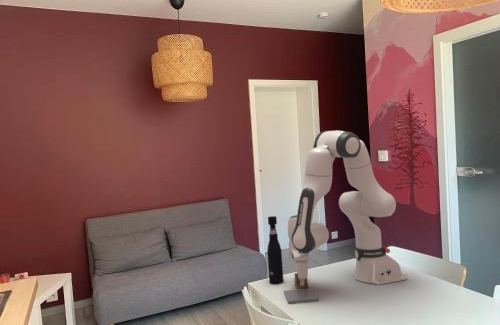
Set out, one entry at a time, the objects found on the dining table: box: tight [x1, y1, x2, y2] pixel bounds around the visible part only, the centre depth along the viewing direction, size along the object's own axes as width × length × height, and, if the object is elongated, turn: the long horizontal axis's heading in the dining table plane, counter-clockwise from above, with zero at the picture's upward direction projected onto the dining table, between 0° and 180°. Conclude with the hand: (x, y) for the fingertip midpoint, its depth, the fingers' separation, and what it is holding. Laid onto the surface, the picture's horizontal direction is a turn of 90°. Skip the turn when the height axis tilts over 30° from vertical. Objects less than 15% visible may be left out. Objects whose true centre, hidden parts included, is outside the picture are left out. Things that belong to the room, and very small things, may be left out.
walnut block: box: [293, 272, 309, 290], centre depth 166 cm, size 5×5×5 cm
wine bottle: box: [267, 215, 284, 285], centre depth 173 cm, size 6×6×30 cm
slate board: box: [283, 287, 320, 305], centre depth 154 cm, size 12×11×1 cm
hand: (301, 282), depth 166 cm, fingers closed on walnut block, 5 cm apart
